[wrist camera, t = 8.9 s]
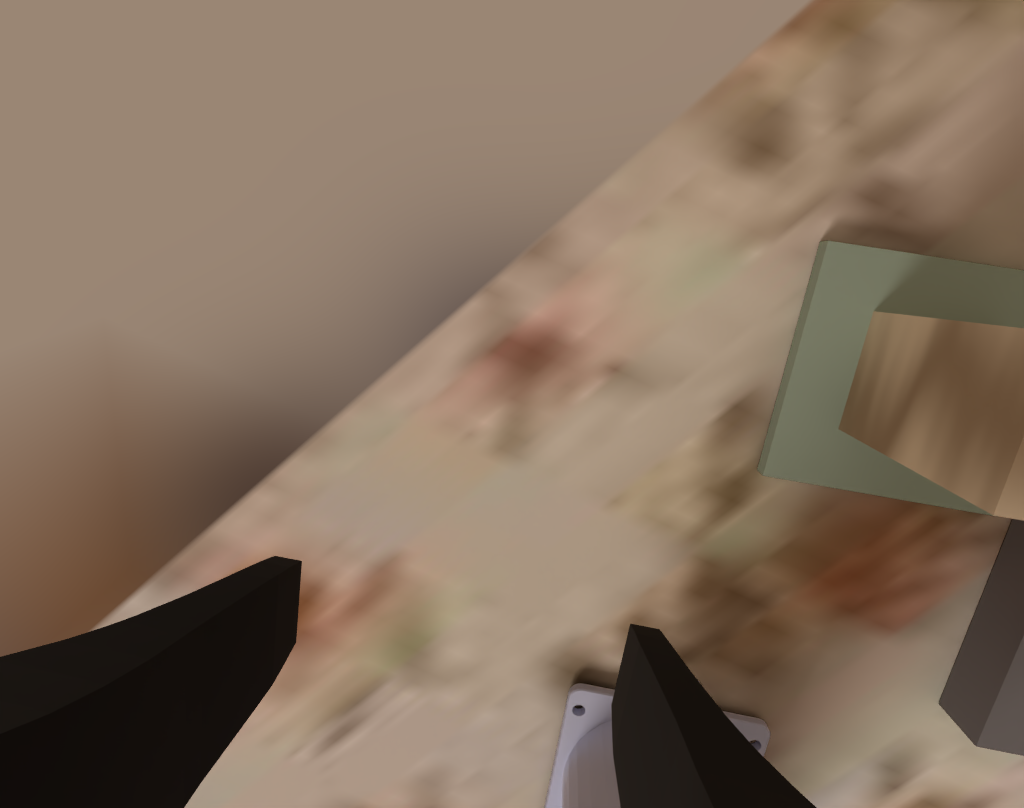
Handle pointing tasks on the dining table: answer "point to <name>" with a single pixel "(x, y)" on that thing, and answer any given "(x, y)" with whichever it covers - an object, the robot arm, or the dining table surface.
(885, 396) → the beech block
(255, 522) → the dining table surface
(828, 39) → the dining table surface
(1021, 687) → the pocket plate
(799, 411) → the green mat
